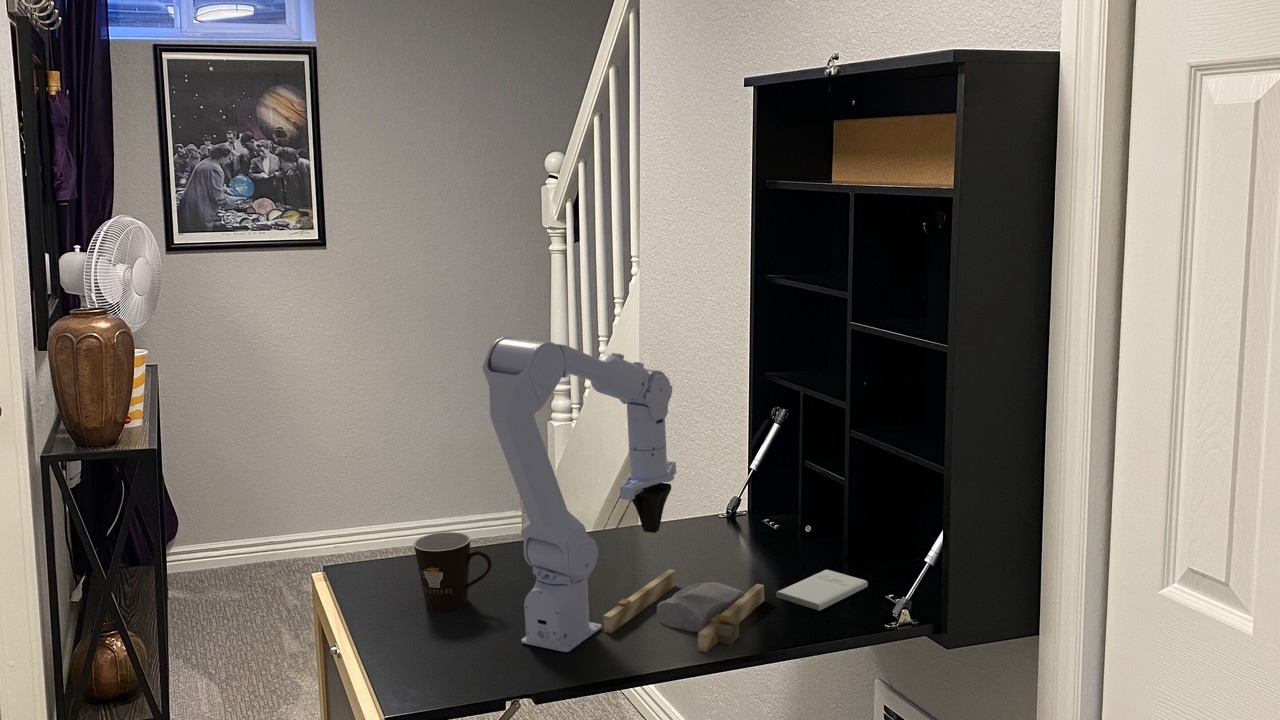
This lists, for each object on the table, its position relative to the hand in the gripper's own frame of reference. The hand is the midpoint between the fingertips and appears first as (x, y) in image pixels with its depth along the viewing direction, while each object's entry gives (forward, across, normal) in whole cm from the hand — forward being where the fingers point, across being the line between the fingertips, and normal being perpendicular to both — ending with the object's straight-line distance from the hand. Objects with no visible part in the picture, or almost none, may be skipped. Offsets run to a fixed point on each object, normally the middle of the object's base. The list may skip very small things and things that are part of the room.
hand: (651, 531), depth 181 cm
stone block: (+11, -5, -10) cm, 16 cm away
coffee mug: (+10, -17, +26) cm, 33 cm away
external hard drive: (+11, +10, -24) cm, 28 cm away
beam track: (+10, -6, -10) cm, 16 cm away
